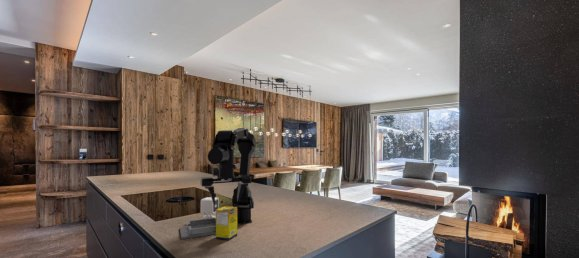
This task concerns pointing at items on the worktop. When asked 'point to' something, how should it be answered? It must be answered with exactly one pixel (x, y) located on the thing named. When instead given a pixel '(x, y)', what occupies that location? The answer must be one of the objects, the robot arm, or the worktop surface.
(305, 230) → the worktop surface
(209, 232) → the plate
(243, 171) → the robot arm
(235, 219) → the supplement box
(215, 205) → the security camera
